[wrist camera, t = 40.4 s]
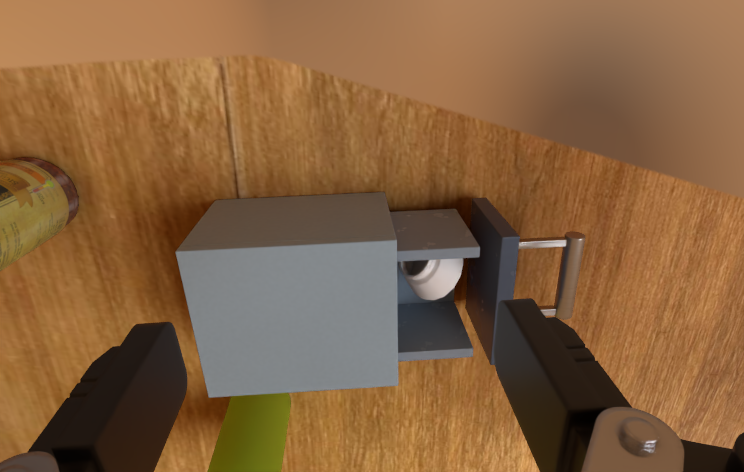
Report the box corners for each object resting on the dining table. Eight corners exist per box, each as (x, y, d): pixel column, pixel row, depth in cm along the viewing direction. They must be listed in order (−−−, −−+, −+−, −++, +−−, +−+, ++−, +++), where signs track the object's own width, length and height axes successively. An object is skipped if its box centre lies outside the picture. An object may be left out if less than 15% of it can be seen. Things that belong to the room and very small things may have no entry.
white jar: (405, 284, 37) (444, 313, 34) (379, 273, 36) (418, 302, 32) (434, 230, 37) (477, 253, 33) (410, 217, 35) (453, 239, 31)
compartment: (562, 193, 37) (613, 231, 30) (546, 303, 41) (588, 359, 34) (331, 204, 36) (327, 246, 29) (339, 315, 41) (337, 374, 33)
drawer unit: (384, 191, 37) (396, 240, 28) (387, 312, 42) (398, 386, 33) (215, 199, 37) (174, 251, 28) (237, 320, 41) (208, 398, 33)
